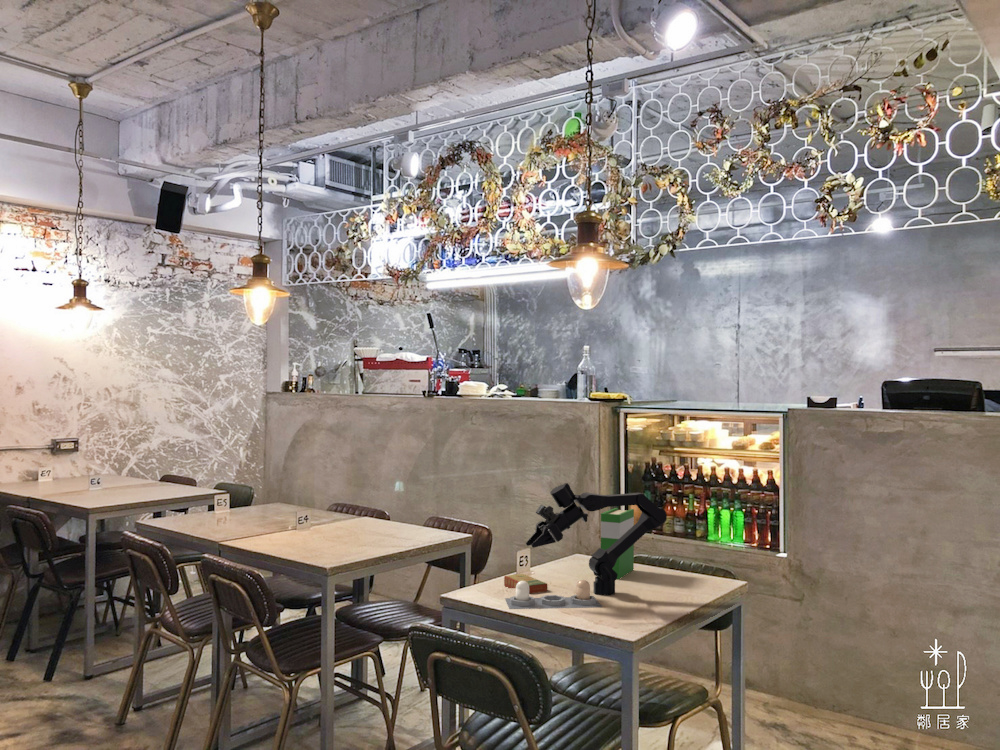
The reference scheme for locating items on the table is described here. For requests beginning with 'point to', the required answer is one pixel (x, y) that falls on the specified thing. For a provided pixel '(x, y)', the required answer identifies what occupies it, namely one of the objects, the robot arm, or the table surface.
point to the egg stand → (552, 602)
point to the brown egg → (583, 590)
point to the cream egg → (522, 591)
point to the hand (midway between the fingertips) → (529, 545)
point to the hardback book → (612, 530)
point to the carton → (533, 583)
